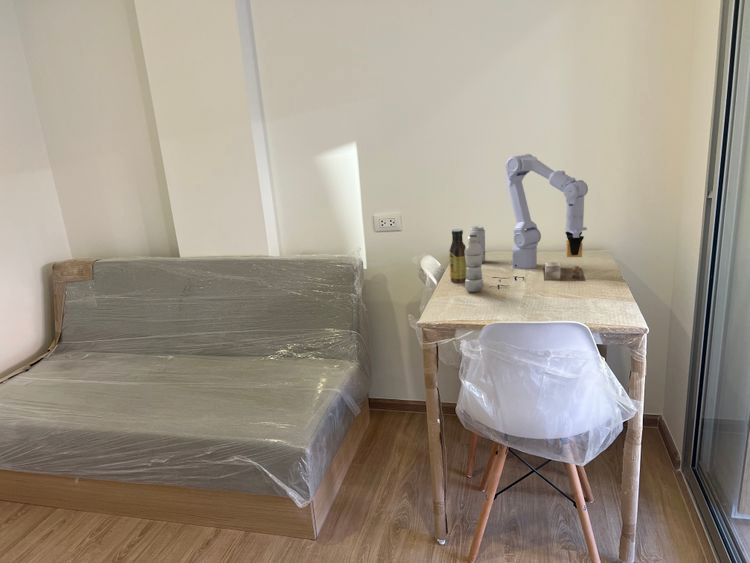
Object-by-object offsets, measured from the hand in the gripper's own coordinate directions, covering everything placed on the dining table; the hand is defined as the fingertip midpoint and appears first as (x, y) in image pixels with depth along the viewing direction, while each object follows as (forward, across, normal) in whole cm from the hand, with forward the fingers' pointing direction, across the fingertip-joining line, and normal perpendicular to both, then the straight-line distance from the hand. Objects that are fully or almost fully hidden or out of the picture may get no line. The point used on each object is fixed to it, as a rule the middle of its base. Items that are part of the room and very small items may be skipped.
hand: (573, 252), depth 195 cm
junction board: (+10, +2, +3) cm, 10 cm away
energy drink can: (+10, +23, +36) cm, 44 cm away
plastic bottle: (+10, -16, +34) cm, 39 cm away
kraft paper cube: (+1, 0, 0) cm, 1 cm away
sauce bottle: (+10, -4, +41) cm, 43 cm away
